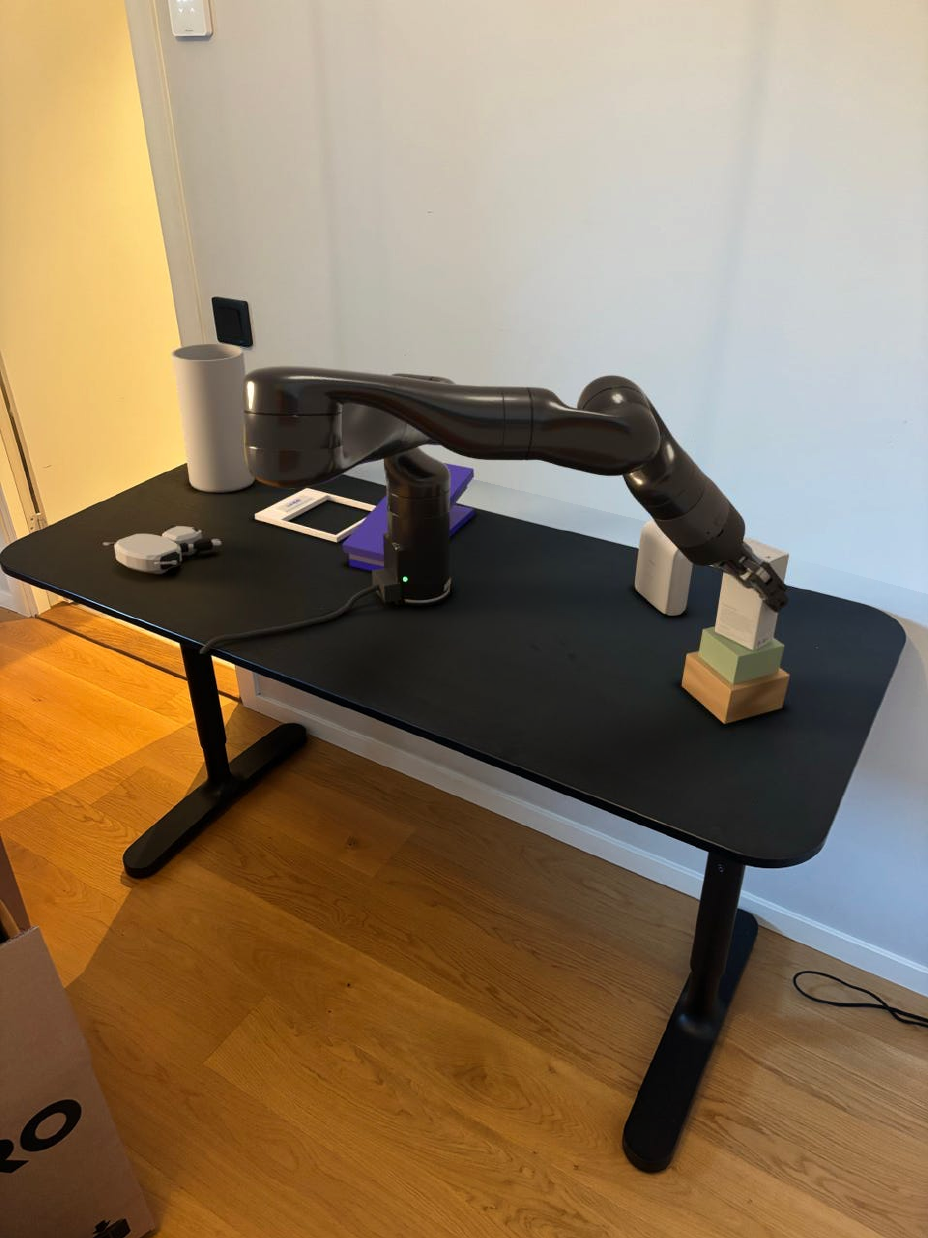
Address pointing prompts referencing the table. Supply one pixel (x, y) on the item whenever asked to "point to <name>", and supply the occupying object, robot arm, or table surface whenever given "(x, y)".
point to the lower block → (733, 691)
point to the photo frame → (302, 503)
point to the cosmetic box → (749, 603)
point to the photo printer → (662, 571)
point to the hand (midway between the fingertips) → (760, 592)
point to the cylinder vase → (212, 415)
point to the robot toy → (161, 548)
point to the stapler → (369, 534)
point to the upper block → (739, 657)
